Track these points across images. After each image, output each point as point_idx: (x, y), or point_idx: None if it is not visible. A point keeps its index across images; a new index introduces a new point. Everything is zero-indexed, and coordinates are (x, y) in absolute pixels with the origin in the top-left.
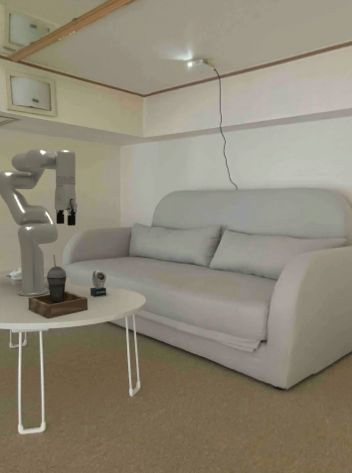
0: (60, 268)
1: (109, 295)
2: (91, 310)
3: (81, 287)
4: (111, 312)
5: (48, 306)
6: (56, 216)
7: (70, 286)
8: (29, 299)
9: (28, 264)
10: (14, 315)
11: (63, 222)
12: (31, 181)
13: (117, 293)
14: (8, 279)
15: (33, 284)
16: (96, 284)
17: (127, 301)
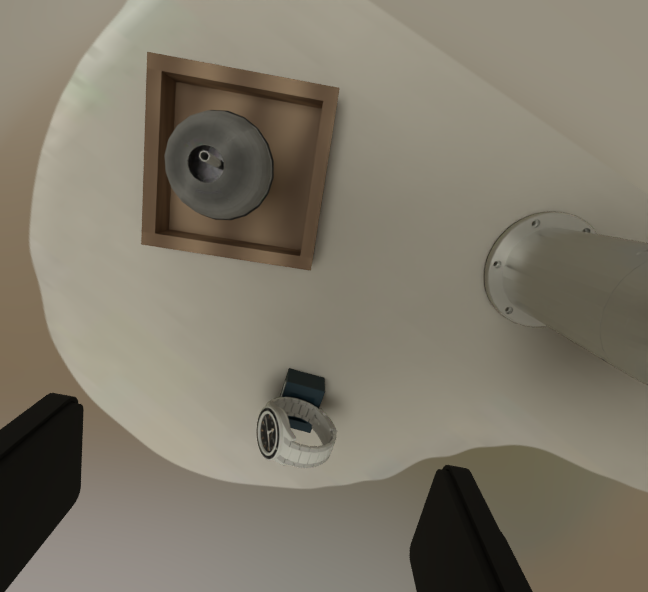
0: (178, 172)
1: None
2: None
3: (447, 432)
4: (68, 264)
5: (147, 55)
6: (521, 578)
7: (497, 419)
8: (328, 86)
9: (620, 259)
10: (307, 8)
11: (414, 556)
12: None
13: None
14: None
15: (531, 255)
16: (313, 418)
17: (146, 392)
